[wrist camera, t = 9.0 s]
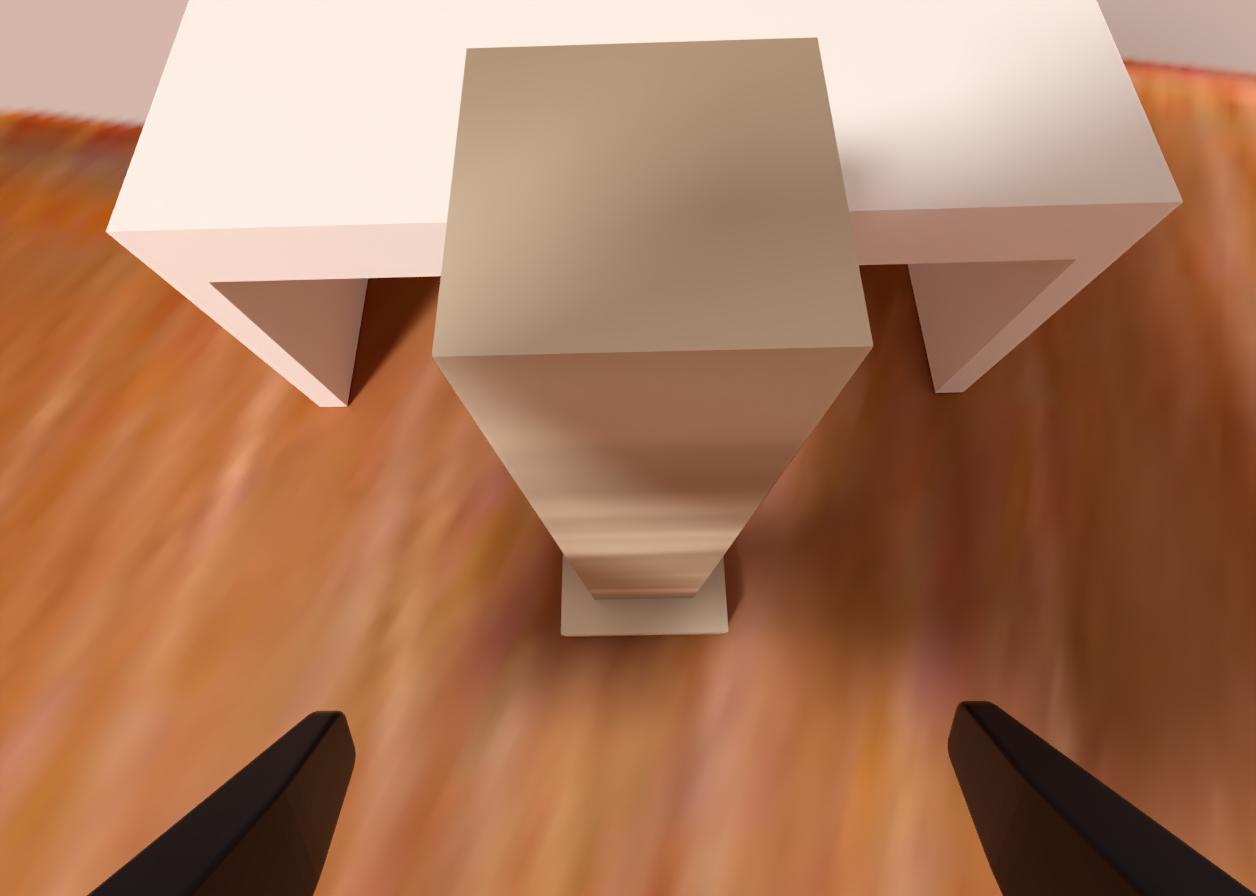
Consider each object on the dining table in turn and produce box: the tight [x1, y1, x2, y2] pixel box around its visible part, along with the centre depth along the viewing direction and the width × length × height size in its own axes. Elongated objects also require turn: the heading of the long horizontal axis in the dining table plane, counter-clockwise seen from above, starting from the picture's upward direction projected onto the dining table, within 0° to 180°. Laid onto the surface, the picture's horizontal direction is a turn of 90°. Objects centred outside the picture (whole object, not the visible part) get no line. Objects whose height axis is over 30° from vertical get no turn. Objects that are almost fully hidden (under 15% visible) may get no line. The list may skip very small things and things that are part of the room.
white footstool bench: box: [106, 0, 1183, 407], centre depth 15 cm, size 8×19×8 cm, turn 91°
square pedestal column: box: [432, 37, 873, 637], centre depth 12 cm, size 16×7×13 cm, turn 1°
